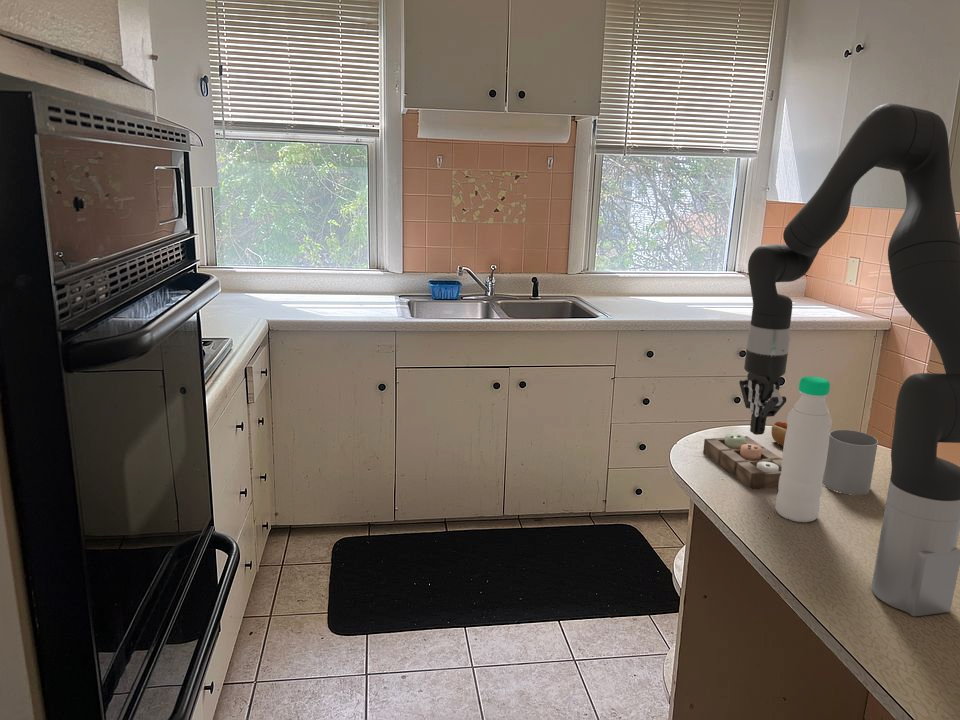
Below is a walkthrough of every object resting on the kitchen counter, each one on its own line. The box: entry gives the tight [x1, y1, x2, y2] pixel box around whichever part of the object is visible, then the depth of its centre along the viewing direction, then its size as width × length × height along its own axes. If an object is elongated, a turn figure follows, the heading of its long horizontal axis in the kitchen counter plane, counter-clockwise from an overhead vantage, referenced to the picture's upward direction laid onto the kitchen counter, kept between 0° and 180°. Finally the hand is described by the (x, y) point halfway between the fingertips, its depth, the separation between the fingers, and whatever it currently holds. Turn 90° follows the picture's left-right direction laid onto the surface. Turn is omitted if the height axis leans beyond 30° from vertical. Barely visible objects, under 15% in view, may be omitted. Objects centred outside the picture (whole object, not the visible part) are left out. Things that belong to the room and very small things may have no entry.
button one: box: [757, 462, 779, 472], centre depth 145 cm, size 4×4×3 cm
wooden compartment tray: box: [703, 435, 782, 491], centre depth 151 cm, size 19×10×3 cm, turn 12°
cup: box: [822, 429, 879, 496], centre depth 142 cm, size 8×8×10 cm
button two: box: [724, 432, 746, 449], centre depth 156 cm, size 4×4×3 cm
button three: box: [740, 444, 762, 460], centre depth 150 cm, size 4×4×3 cm
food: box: [771, 421, 788, 447], centre depth 160 cm, size 14×6×5 cm, turn 23°
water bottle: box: [774, 375, 833, 523], centre depth 128 cm, size 7×7×25 cm
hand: (756, 433), depth 148 cm, fingers closed
